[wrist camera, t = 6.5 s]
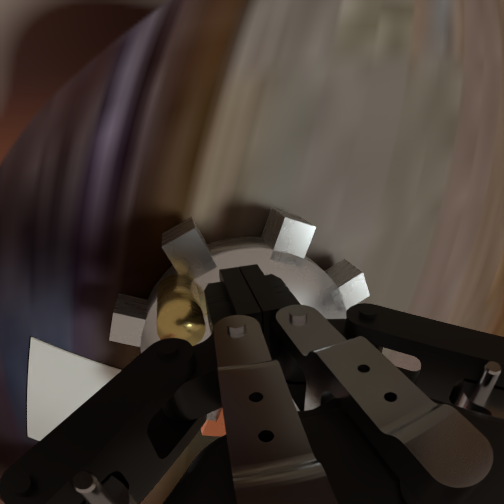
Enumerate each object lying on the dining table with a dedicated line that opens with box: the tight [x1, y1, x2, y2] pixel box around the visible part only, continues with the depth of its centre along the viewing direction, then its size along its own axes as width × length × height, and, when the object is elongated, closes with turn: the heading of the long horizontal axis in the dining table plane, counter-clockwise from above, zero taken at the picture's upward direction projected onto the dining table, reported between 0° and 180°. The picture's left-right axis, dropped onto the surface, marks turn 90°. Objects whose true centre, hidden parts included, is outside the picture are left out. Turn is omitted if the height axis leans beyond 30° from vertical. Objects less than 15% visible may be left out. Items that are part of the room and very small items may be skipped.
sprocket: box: [109, 207, 370, 436], centre depth 16 cm, size 14×14×5 cm
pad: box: [27, 337, 122, 441], centre depth 18 cm, size 11×11×1 cm
